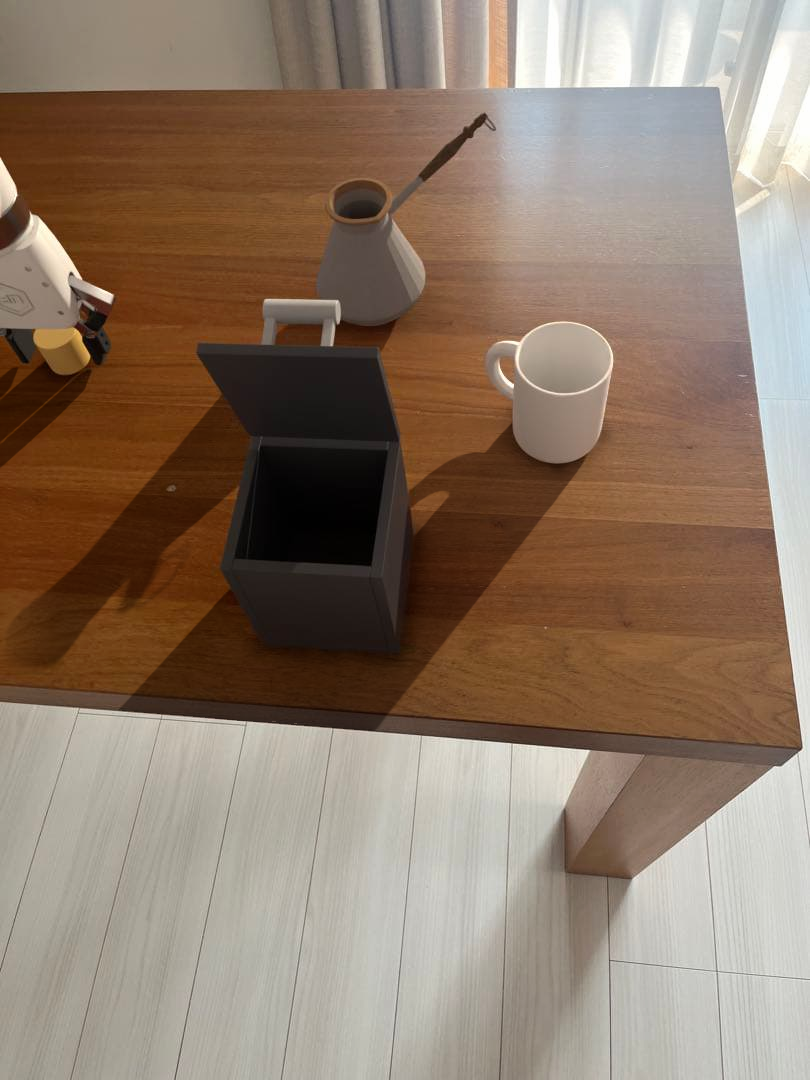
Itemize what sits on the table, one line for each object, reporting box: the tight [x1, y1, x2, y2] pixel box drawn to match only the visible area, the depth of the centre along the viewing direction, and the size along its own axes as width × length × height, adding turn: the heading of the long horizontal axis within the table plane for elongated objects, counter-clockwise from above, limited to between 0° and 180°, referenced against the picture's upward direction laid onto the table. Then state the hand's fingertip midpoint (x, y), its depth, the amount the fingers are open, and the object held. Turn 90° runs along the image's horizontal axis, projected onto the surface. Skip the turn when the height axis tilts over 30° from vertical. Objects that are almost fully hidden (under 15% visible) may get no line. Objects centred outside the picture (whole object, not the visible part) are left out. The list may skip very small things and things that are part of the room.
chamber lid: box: [195, 298, 401, 442], centre depth 63 cm, size 13×12×5 cm
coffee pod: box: [33, 327, 91, 376], centre depth 92 cm, size 4×4×4 cm
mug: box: [484, 321, 614, 464], centre depth 80 cm, size 12×8×10 cm
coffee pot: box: [315, 112, 497, 327], centre depth 89 cm, size 21×12×15 cm, turn 124°
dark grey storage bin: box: [219, 436, 415, 655], centre depth 71 cm, size 12×12×14 cm
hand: (66, 353), depth 93 cm, fingers open, 7 cm apart
